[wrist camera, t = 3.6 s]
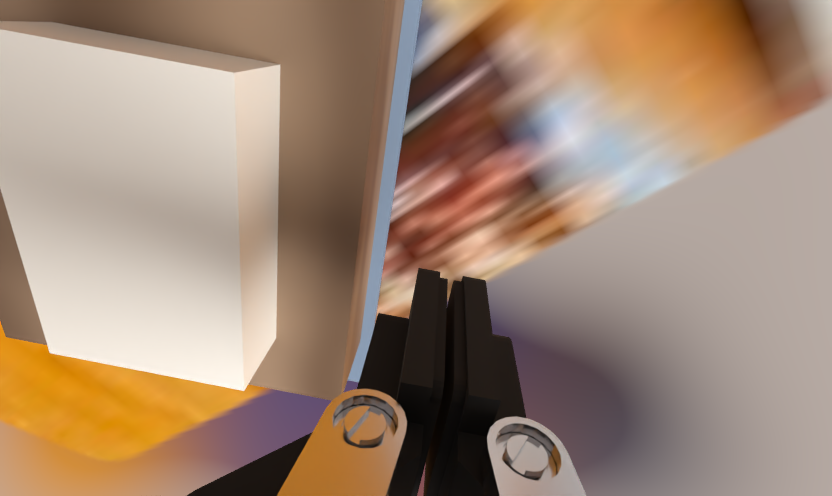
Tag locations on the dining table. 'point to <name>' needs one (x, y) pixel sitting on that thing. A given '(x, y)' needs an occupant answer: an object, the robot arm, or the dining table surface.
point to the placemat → (388, 175)
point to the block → (298, 158)
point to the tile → (143, 198)
